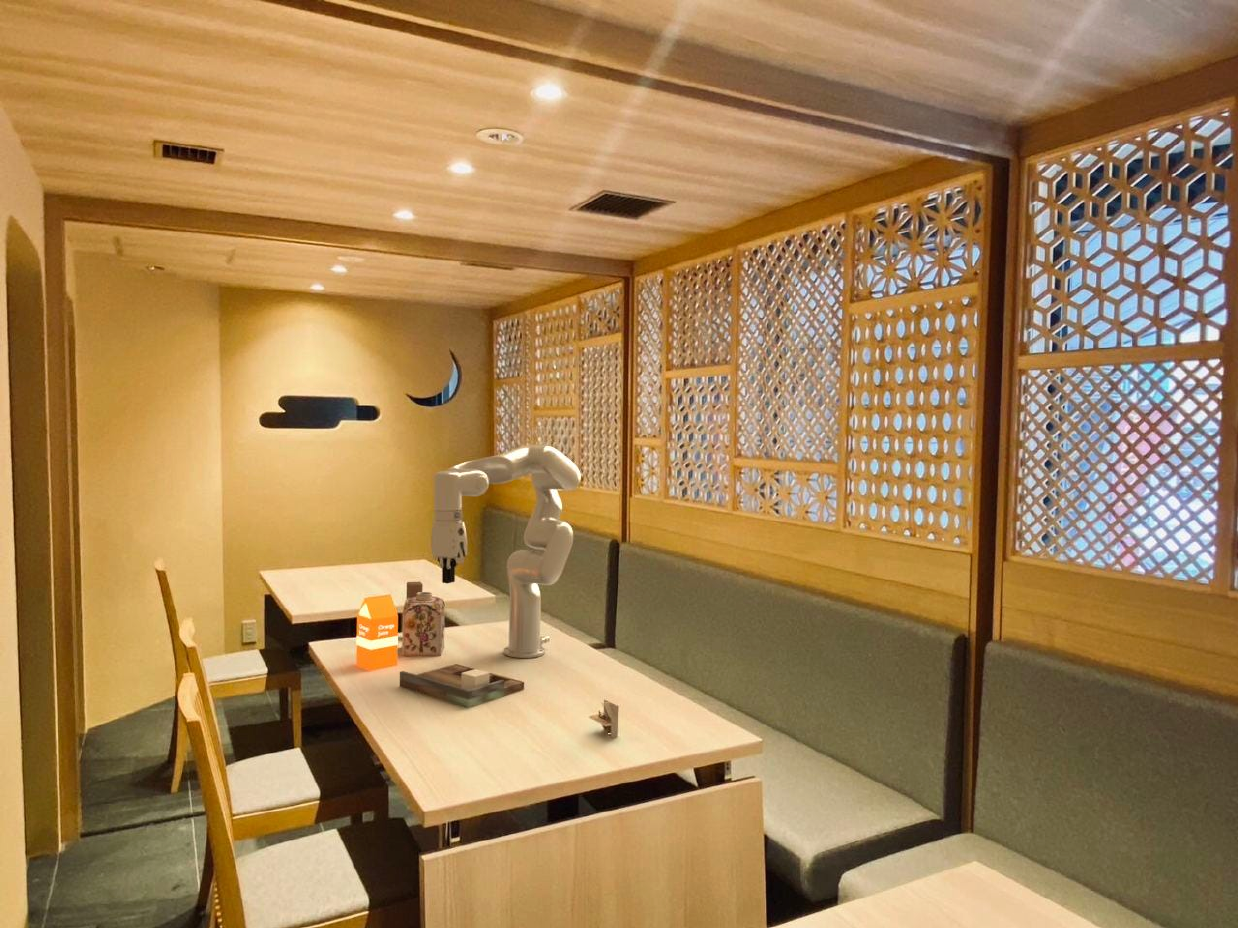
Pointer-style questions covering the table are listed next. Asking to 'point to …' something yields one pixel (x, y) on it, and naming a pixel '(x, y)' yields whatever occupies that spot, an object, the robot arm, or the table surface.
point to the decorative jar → (423, 626)
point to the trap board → (458, 685)
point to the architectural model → (608, 718)
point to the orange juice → (377, 633)
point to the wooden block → (413, 589)
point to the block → (474, 679)
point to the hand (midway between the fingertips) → (448, 582)
